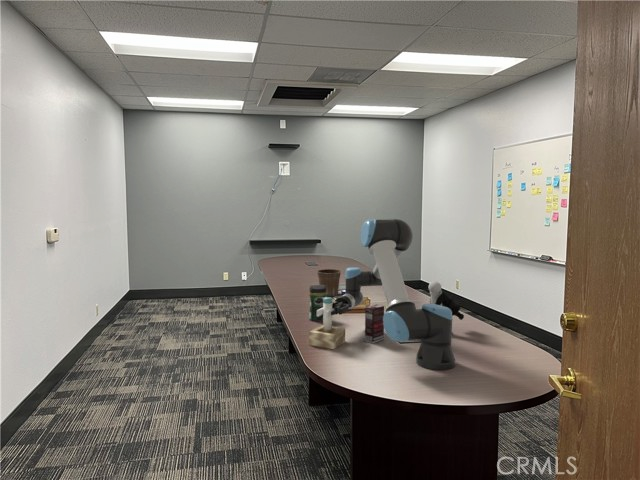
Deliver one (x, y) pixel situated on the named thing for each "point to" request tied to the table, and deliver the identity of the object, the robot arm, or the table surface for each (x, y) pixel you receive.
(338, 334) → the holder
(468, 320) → the table surface
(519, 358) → the table surface
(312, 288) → the coffee jar
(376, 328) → the supplement box
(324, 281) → the plant pot
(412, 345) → the table surface
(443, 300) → the sculpture
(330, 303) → the marker
